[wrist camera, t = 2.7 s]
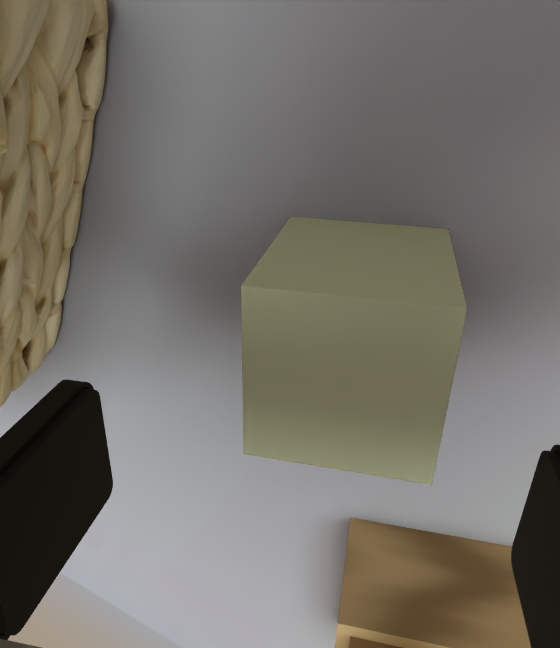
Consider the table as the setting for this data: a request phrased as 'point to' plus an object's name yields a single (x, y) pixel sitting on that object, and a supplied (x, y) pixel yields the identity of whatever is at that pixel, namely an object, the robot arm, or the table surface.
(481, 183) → the table surface
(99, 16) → the storage basket
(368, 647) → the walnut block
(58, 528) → the robot arm
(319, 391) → the sage block
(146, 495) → the table surface
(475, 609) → the oak block
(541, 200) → the table surface
